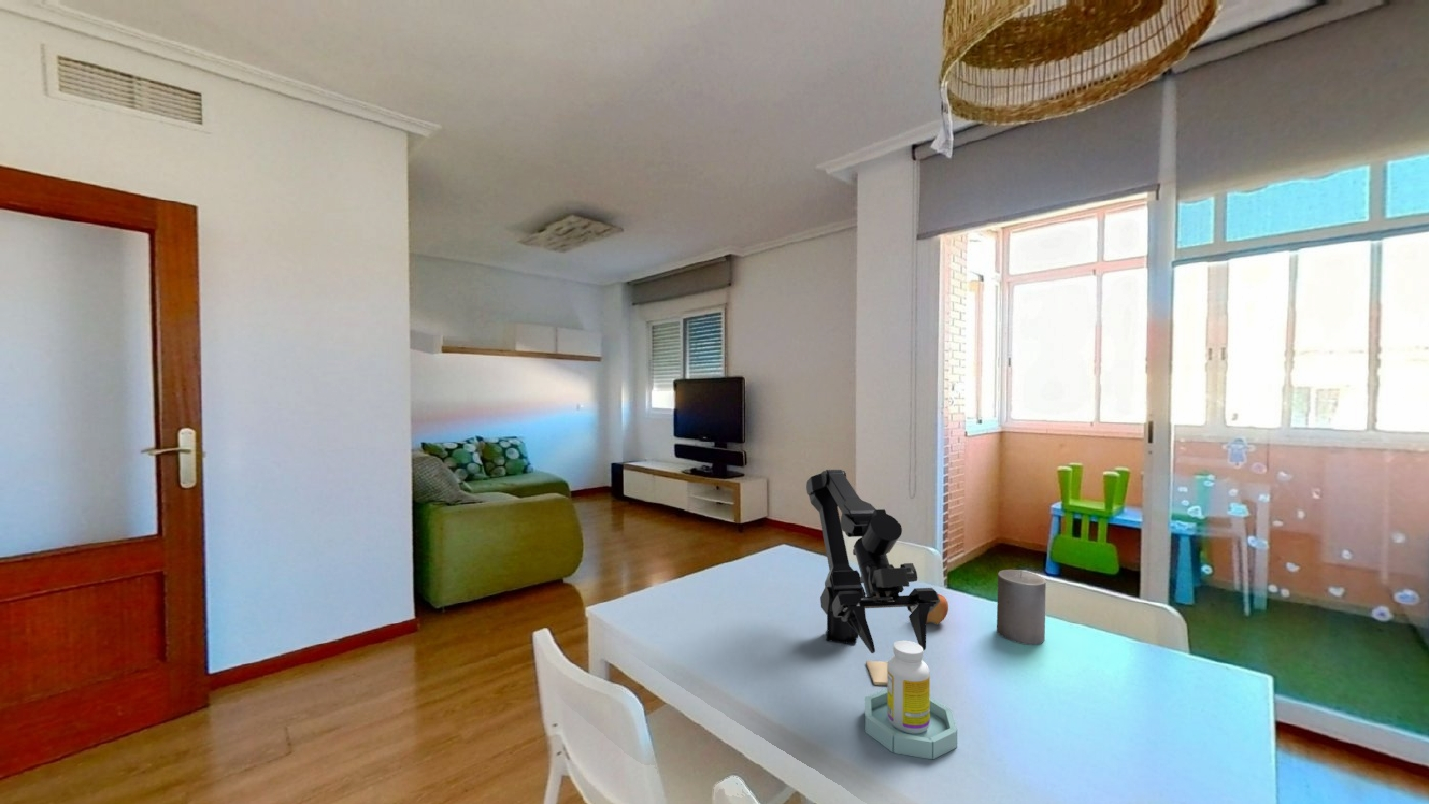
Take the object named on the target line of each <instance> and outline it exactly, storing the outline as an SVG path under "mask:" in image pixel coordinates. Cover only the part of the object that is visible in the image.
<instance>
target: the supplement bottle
mask: <svg viewBox="0 0 1429 804" xmlns="http://www.w3.org/2000/svg"><path fill="white" fill-rule="evenodd" d="M892 650H893V651H892V652H893V654H894V656H892V657H890V658H889V660H888V661H887V662H888V664H887V687H886V689H887V713H888V719H889V721H890V723H891V724H892V725H893V726H894V727H895V728H897V729H899V730H901V731H903V732H906V733H911V734H919V733H923V732H925V731H926V730H927V729H928V728H929V724H930V697H931V694H930V690H931V689H930V686H931V684H930V681H931V680H930V678H931V677H930V668H929V666H928V664H927V663H926V662H925V661H924V660H923V657H924V651H923V648H922V646H920V645H919V644H918V642H914V641H910V640H897V641H895V642H894V643H893V648H892Z"/></svg>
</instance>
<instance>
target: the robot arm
mask: <svg viewBox="0 0 1429 804" xmlns="http://www.w3.org/2000/svg"><path fill="white" fill-rule="evenodd" d="M805 487H806V488H805V490H806V493H807V495H808V496H809V501H810V504H811V505H812V506H813V507H814V509H816V511H817V512H818V514H819V515H818V516H819V519H820V527H821V531H822V536H823V541H824V547H825V552H826V558H827V563H828V569H829V571H828V573H827V576H826V579H825V581H824V588H823V591H822V593H821V595H820V597H819V601H820V607H821V609H822V610H823V612H824V613H825V615H826V623H827V624H826V637H825V640H826V641H828V642H834V643H841V644H850V645H856V643H857V639H861V641H862V643H864V645H865V647H866V648H867V649H868V650H869V652H870V653H871V654H874V653H875V652H876V649H875V643H874V640H873V637H872V633H871V630H870V628H869V625H868V621H867V618H866V609H881V608H883V609H885V608H907V611H909V612H910V614H909V615H908V618H909V621H910V623H911V626H912V628H913V629H912V630H913V632H914V635H915V638H916V641H917V644H919V645H920V646H922V648H923V652H924V651H926V649H927V624H928V623H927V616H928V614H929V613H930V612H931V611H932V610H933V609H934V608H935V607H936V606H937V605H938V603H939V602H940V599H939V596H938V594H939V593H938V592H937V590H935V589H934V588H933V587H919V588H917V587H916V588H913V589H912V591H911V592H910V593H909V594H908V595H906V594H905V595H900V593H903V591H904V589H905V588H904V587H907V588H909V587H910V583H913V582H917V581H918V574H917V573H918V572H917V569H916V568H915V565H914V563H912V562H906V563H905V562H904V563H901V564H900V567H895V566H894V565H893V564H892V563H891V564H890V561H889V558H888V555H887V554H890V552H891V551H892V550H893V548H894V546H895V545H896V544H897V542H898V540H899V539H900V538H901V537H902V536H901V535H902V534H903V528H902V525H901V523H899V521H898V520H897V519H896V518H895V517H893V516H892V515H890V514H887V511H886V509H885V508H883V509H882V508H881V509H880V508H878V509H876V508H875V506H873V504H871V503H869V502H867V501H865V500H862V499H861V497H860V496H859V494H858V493H857V492H856V490H855V489H854V487H853V485H852V484H851V482H850V481H849V480H848V478H847V473H846V471H844V470H843V469H826V470H823V471H822V472H821V473H819V474H818V473H817V474H814V475H813V476H810V477H809V479H807V481H806V483H805ZM839 509H840V512H841V516H840V512H839ZM844 533H845V535H846V537H847V538H856V537H857V538H858V539H857V540H856V542H855V543H854V544H853V549H852V554H853V556H855V557H856V558H855V559H856V561H857V566H858V568H859V571H858V570H857V569H856V570H854V569H853V568H852V567H851V565H850V562H849V561H850V560H849V558H848V551H847V547H846V542H845V538H844V537H845V536H844ZM859 572H860V573H859ZM862 584H863V585H862ZM863 586H864V587H863Z"/></svg>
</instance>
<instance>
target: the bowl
mask: <svg viewBox="0 0 1429 804" xmlns="http://www.w3.org/2000/svg"><path fill="white" fill-rule="evenodd" d="M864 725H865V726H864V732H865V733H866V734H868V735H869V736H870V737H871V738H873V740H875V741H877V742H878V743H879V744H881V745H882V746H883V747H885V748H886V749H887V750H889V751H890V752H892V753H894V754H897V755H904V756H912V757H914V758H915V757H916V758H922V759H928V760H932V759H933V760H935V759H937V758H939V757H941V756H942V755H945V754H946V753H948V752H951V751H952V750H955V749H956V748H958V729H957V728H958V727H957V725H956V720H955V717H954V714H953V711H952V710H951V708H949V707H948V706H947V705H944V703H943V704H942V703H941V702H940V701H938V700H936V699H934V698H933V697H931V696H930V724H929V728H928V729H927V730H926V731H925V732H923V733H919V734H911V733H906V732H903V731H901V730H899V729H897V728H895V727H894V726H893V725H892V724H891V723H890V721H889V719H888V713H887V688H884V689H882V690H879V691H876V692H874V693H872V694H869V695H866V696H865V697H864Z"/></svg>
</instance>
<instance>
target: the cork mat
mask: <svg viewBox="0 0 1429 804" xmlns="http://www.w3.org/2000/svg"><path fill="white" fill-rule="evenodd" d="M865 662H866V663H865V664H866V667H867V669H868V672H869V675H870V677H871V681H872V683H873V685H874V686H887V664H888V661H882V660H881V661H879V660H878V661H877V660H866V661H865Z"/></svg>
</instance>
